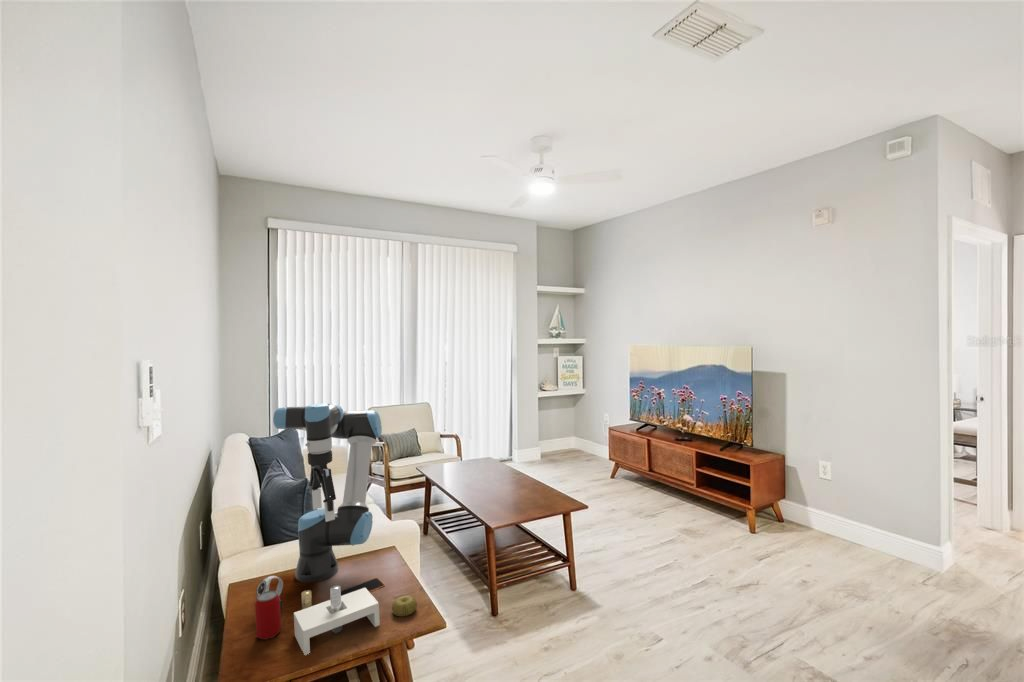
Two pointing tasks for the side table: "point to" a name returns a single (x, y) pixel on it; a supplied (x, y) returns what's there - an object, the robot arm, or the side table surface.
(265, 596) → the beverage can
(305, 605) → the short brass pin
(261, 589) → the watch
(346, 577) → the side table surface
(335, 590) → the tall steel pin
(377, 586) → the smartphone
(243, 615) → the side table surface
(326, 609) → the white bench
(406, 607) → the sculpture
